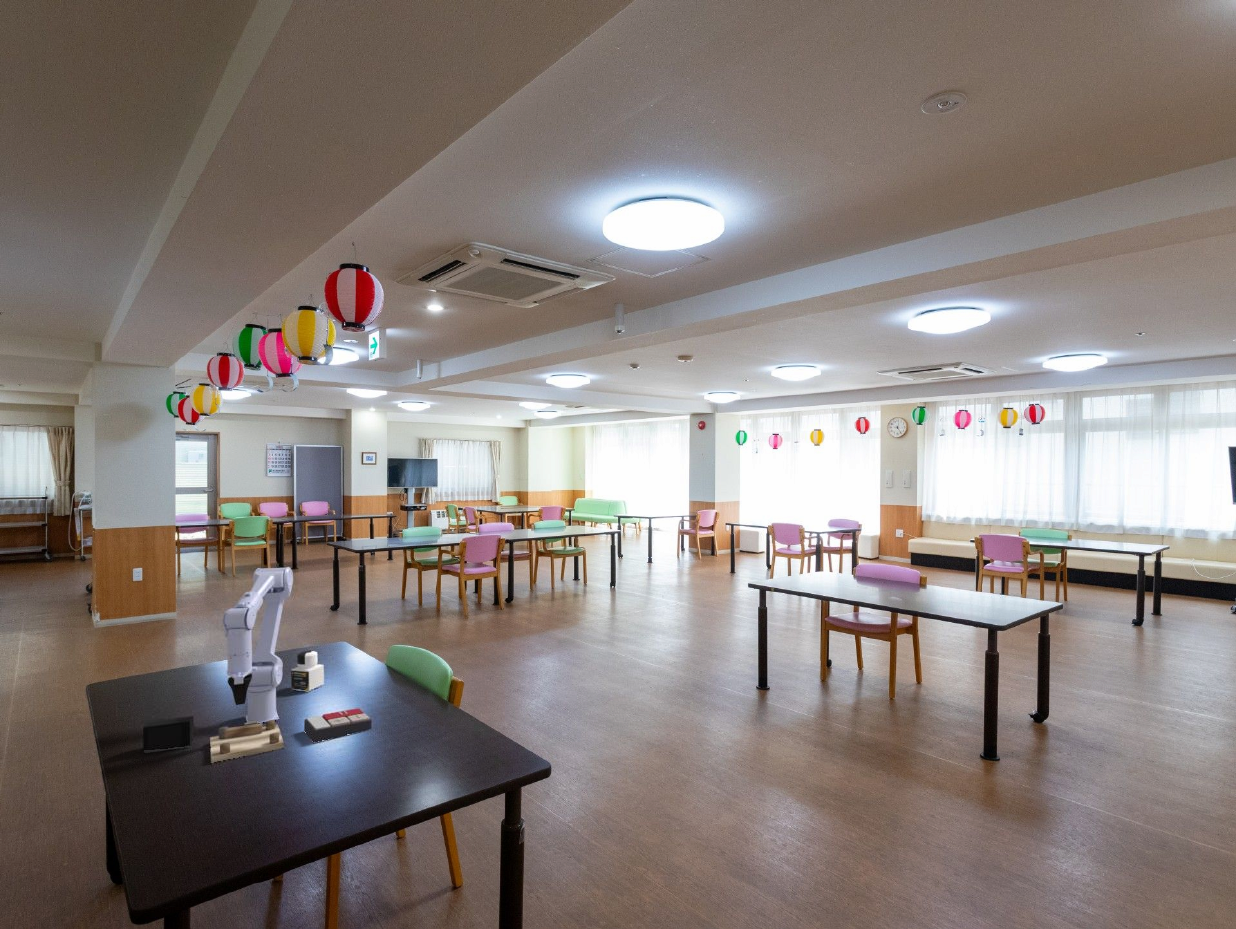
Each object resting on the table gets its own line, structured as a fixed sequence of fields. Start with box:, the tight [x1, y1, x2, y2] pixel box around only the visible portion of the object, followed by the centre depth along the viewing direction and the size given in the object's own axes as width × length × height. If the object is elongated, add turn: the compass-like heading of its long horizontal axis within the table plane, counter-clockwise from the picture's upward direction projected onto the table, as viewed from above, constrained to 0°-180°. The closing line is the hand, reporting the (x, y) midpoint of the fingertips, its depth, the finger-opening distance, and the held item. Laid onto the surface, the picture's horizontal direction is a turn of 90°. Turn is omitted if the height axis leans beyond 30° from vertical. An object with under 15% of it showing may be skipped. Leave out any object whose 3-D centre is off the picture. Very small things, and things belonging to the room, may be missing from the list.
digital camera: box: [142, 715, 195, 751], centre depth 176 cm, size 10×5×7 cm, turn 111°
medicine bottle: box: [290, 650, 325, 691], centre depth 222 cm, size 7×7×12 cm
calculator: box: [303, 707, 373, 743], centre depth 185 cm, size 11×4×15 cm
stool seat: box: [209, 720, 285, 764], centre depth 175 cm, size 15×16×4 cm
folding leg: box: [218, 723, 263, 739], centre depth 178 cm, size 10×2×2 cm, turn 113°
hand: (240, 703), depth 180 cm, fingers closed
